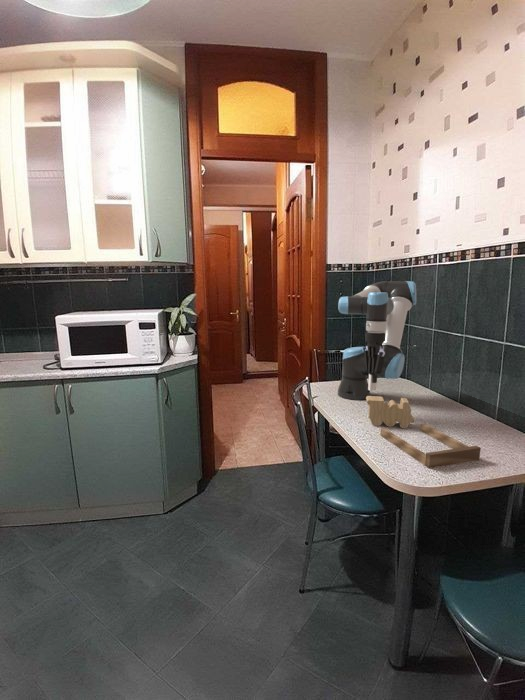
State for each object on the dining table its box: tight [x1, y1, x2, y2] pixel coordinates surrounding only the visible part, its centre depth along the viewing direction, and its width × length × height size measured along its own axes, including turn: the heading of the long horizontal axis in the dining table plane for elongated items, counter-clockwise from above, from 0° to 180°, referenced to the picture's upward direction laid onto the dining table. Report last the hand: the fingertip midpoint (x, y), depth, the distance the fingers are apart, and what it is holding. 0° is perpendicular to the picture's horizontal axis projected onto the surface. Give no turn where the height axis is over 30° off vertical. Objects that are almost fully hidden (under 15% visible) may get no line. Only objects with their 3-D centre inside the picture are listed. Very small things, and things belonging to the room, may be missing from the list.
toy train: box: [365, 395, 416, 429], centre depth 131 cm, size 6×17×10 cm, turn 77°
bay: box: [379, 423, 482, 469], centre depth 112 cm, size 24×18×4 cm
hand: (371, 389), depth 141 cm, fingers closed
